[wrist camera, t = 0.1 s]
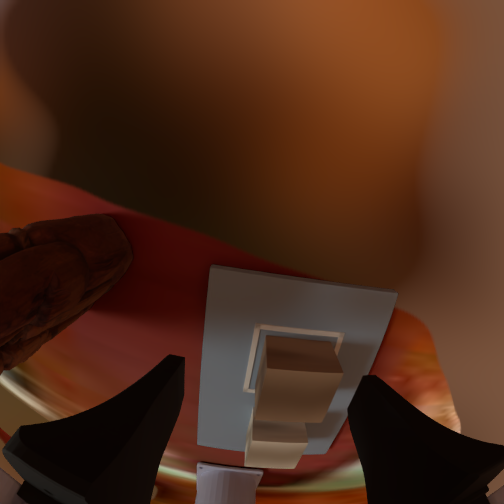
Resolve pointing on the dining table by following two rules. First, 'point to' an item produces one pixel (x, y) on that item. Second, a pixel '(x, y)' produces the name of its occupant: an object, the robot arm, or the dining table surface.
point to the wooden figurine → (54, 278)
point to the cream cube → (274, 443)
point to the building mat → (281, 325)
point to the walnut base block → (296, 380)
